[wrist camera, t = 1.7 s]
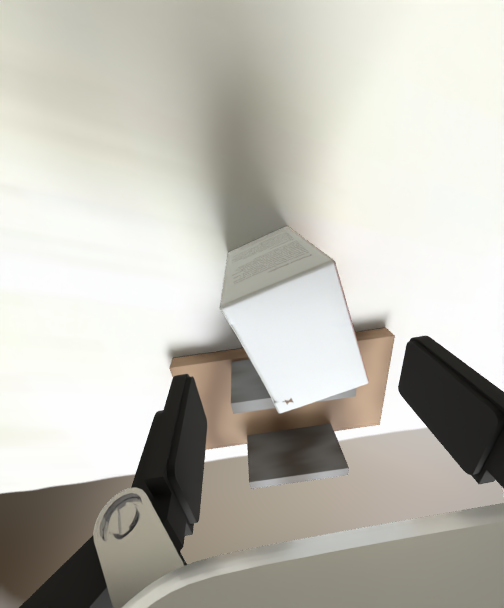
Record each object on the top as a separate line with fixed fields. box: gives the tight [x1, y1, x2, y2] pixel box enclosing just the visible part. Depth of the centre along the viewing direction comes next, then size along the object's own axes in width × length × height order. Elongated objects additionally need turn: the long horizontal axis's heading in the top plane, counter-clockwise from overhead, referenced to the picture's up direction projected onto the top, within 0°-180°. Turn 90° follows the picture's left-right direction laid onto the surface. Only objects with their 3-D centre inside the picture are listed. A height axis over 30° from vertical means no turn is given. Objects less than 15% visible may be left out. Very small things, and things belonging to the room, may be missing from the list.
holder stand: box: [170, 328, 395, 489], centre depth 24 cm, size 22×13×6 cm, turn 97°
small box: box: [220, 226, 369, 413], centre depth 17 cm, size 8×6×10 cm
